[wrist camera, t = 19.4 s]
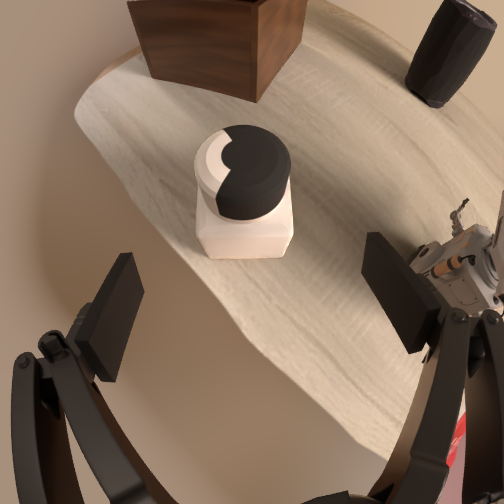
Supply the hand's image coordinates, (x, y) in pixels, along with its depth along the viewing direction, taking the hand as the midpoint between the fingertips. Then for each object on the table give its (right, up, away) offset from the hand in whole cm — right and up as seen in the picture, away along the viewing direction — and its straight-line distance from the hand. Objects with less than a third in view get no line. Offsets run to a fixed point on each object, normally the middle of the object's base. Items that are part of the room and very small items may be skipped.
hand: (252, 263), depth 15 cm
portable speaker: (+28, +27, +19) cm, 43 cm away
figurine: (+21, -2, +11) cm, 24 cm away
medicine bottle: (-1, +3, +13) cm, 13 cm away
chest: (-3, +30, +20) cm, 36 cm away
